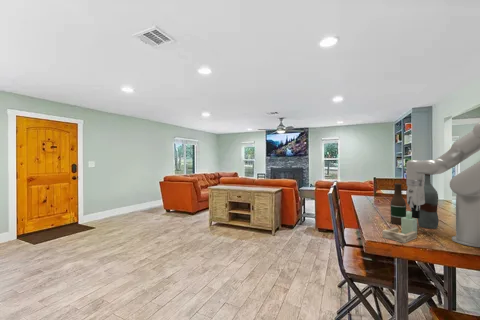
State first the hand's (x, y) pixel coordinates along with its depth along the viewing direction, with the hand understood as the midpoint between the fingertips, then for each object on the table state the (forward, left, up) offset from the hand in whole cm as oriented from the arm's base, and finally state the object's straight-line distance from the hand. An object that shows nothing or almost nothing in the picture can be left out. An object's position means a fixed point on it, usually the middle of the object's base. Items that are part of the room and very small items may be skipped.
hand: (415, 217), depth 123 cm
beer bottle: (+12, -9, -7) cm, 16 cm away
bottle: (0, +7, -7) cm, 10 cm away
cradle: (0, +18, -7) cm, 19 cm away
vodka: (0, -16, -7) cm, 17 cm away
